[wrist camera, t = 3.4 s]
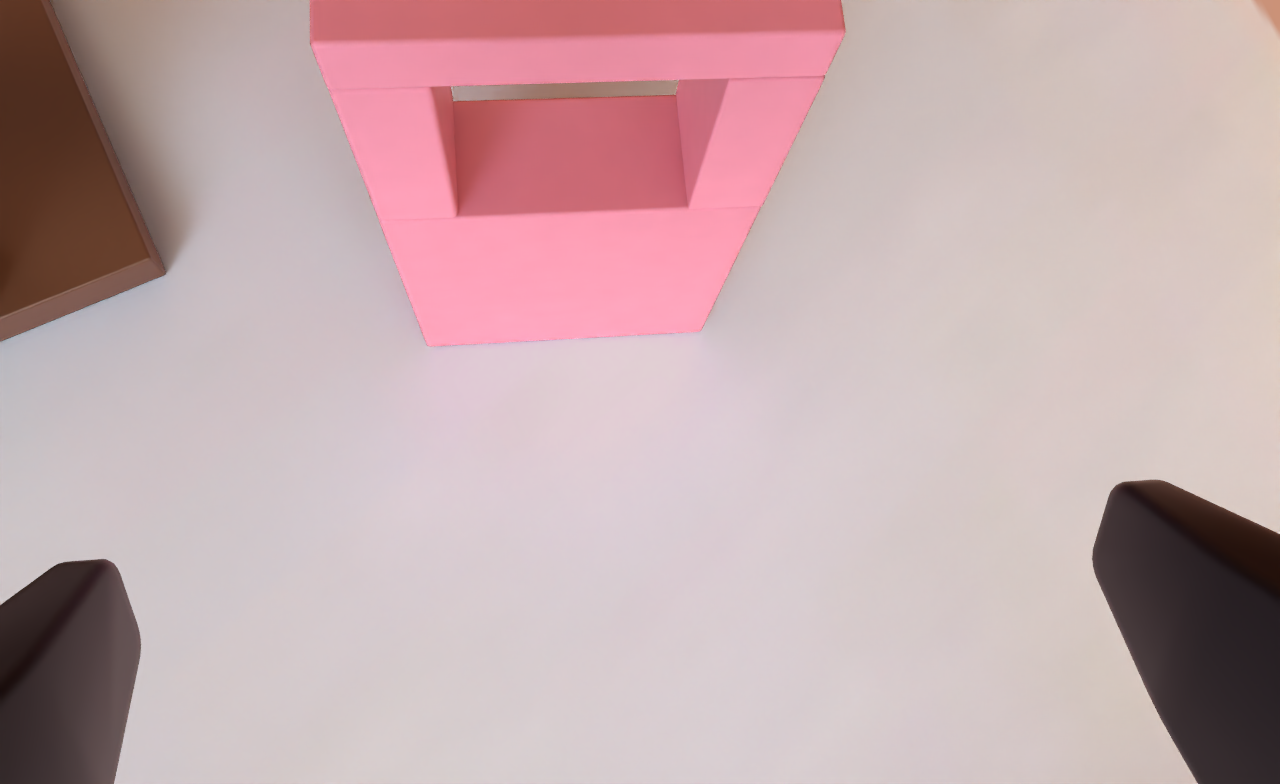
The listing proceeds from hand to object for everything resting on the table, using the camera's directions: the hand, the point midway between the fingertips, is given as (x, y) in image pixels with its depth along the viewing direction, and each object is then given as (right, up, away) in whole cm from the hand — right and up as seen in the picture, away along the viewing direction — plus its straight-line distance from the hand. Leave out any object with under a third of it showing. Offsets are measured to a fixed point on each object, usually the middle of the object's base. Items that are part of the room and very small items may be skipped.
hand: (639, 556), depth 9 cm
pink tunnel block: (-2, +4, +15) cm, 15 cm away
